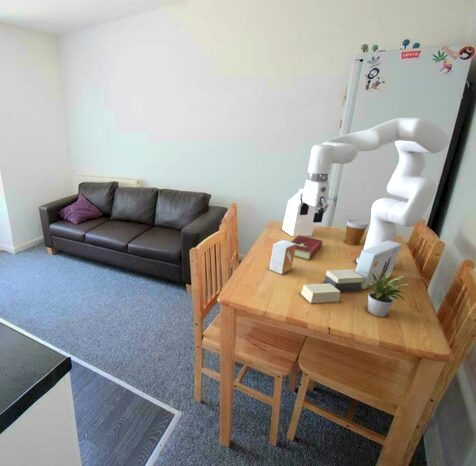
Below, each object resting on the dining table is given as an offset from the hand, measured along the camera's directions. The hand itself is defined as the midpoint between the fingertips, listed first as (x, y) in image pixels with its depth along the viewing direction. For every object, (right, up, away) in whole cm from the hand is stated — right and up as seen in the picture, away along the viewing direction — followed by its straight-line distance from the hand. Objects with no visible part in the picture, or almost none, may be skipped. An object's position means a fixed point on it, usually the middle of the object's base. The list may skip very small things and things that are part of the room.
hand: (310, 218), depth 127 cm
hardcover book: (+17, -15, +34) cm, 41 cm away
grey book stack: (+12, -29, -1) cm, 31 cm away
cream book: (+12, -25, -2) cm, 28 cm away
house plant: (+13, -35, -16) cm, 40 cm away
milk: (+26, -6, +58) cm, 64 cm away
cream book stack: (0, -31, -7) cm, 32 cm away
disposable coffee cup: (+47, -12, +41) cm, 64 cm away
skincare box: (+28, -27, +4) cm, 39 cm away
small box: (-4, -23, +16) cm, 28 cm away
